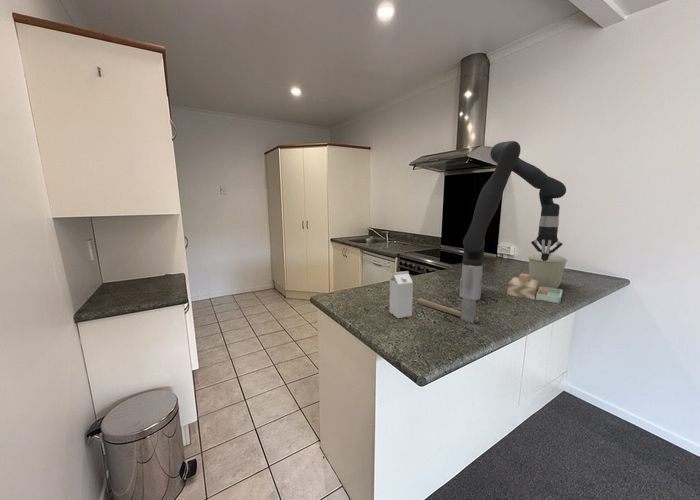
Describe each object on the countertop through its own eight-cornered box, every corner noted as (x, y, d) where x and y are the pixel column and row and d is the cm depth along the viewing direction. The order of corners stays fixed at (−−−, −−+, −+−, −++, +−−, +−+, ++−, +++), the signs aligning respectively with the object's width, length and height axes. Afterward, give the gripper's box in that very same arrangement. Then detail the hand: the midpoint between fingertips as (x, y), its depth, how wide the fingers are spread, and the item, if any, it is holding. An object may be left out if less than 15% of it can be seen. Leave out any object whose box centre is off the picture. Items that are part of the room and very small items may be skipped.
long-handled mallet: (419, 303, 132) (479, 323, 108) (416, 304, 130) (476, 324, 107) (419, 284, 130) (480, 300, 107) (416, 285, 129) (477, 301, 105)
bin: (535, 299, 133) (536, 293, 133) (539, 291, 145) (540, 286, 145) (560, 303, 127) (560, 297, 127) (561, 295, 139) (562, 289, 139)
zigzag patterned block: (507, 294, 141) (507, 283, 140) (512, 287, 153) (513, 277, 152) (534, 299, 133) (535, 287, 132) (538, 291, 145) (539, 280, 144)
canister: (531, 280, 166) (534, 246, 163) (568, 287, 152) (572, 250, 149) (520, 286, 155) (523, 250, 151) (559, 293, 141) (563, 254, 138)
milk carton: (389, 312, 119) (389, 270, 116) (403, 310, 122) (404, 269, 119) (397, 318, 113) (398, 274, 110) (412, 316, 115) (413, 272, 112)
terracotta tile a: (540, 289, 134) (547, 290, 132) (541, 287, 138) (548, 288, 136) (539, 297, 135) (546, 298, 133) (540, 294, 139) (547, 295, 137)
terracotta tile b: (518, 280, 145) (519, 275, 144) (520, 278, 149) (520, 273, 148) (527, 281, 142) (528, 276, 142) (529, 279, 146) (529, 274, 146)
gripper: (531, 225, 132) (527, 260, 135) (565, 226, 123) (561, 263, 126) (533, 224, 138) (529, 258, 140) (566, 225, 129) (561, 261, 132)
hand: (544, 260), depth 133 cm, fingers closed
